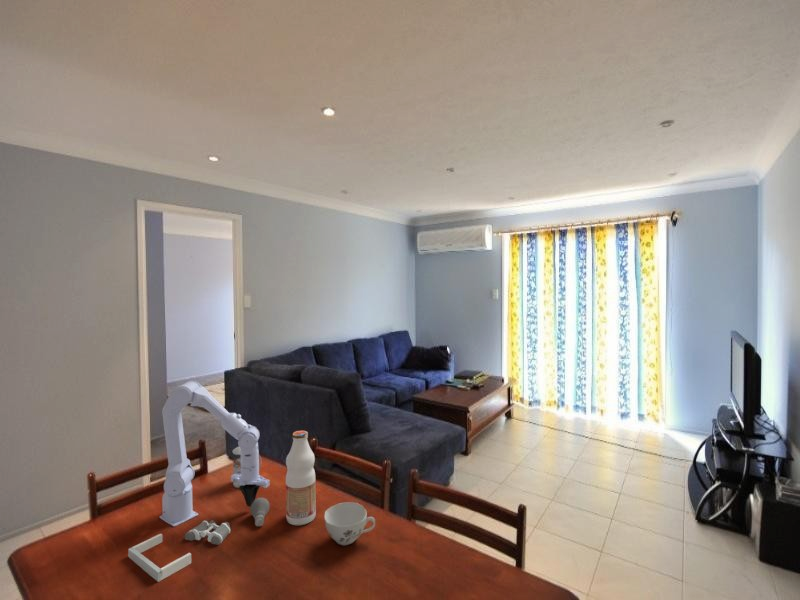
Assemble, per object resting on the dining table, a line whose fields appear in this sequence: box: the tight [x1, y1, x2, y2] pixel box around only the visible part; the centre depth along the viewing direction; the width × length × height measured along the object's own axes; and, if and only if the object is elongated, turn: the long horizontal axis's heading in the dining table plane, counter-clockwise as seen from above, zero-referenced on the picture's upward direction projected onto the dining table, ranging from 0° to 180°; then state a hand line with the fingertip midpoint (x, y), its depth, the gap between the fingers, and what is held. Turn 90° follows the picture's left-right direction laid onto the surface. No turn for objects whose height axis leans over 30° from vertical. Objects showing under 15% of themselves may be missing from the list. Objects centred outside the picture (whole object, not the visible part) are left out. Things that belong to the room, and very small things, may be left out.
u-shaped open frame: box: [127, 533, 192, 583], centre depth 109 cm, size 17×8×2 cm, turn 56°
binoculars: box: [184, 519, 231, 546], centre depth 120 cm, size 12×8×4 cm, turn 78°
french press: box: [231, 419, 263, 489], centre depth 151 cm, size 10×12×25 cm
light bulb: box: [249, 497, 270, 528], centre depth 128 cm, size 6×6×10 cm
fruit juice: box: [285, 430, 317, 526], centre depth 129 cm, size 9×9×28 cm
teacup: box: [323, 501, 376, 546], centre depth 117 cm, size 15×12×8 cm
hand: (250, 505), depth 132 cm, fingers closed
